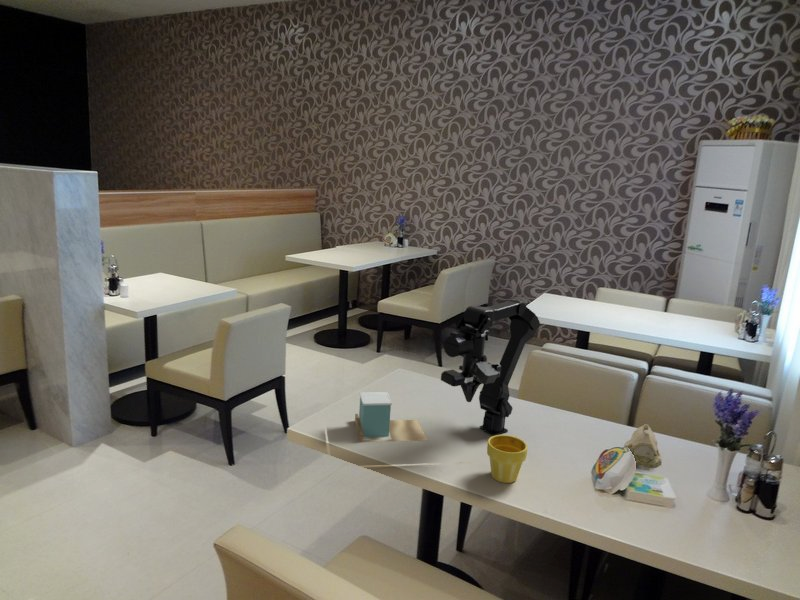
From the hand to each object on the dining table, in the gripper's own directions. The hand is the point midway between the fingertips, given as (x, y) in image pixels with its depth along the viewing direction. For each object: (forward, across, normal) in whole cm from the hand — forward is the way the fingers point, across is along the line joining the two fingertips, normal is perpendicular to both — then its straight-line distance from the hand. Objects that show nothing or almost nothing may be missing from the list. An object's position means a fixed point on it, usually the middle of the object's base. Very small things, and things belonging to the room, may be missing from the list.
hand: (468, 401), depth 168 cm
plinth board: (+13, -16, +16) cm, 26 cm away
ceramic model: (+13, +42, -32) cm, 54 cm away
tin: (+12, -21, +18) cm, 30 cm away
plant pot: (+13, -4, -20) cm, 24 cm away
